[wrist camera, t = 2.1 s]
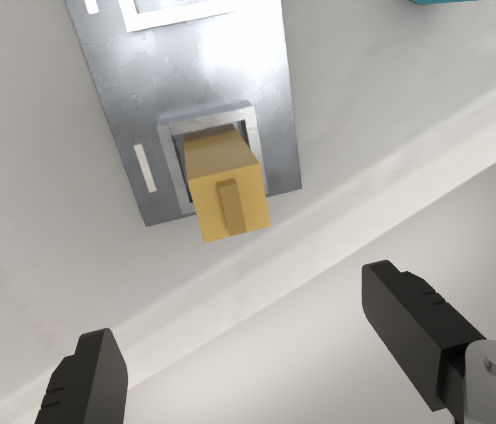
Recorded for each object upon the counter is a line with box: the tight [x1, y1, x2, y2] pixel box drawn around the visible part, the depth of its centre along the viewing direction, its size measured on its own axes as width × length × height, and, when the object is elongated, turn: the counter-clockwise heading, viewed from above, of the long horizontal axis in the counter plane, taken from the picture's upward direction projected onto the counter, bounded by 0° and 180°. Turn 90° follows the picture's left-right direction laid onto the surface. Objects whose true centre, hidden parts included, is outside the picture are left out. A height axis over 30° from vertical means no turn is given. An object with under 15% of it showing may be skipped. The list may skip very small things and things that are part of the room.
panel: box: [65, 0, 302, 227], centre depth 25 cm, size 14×24×4 cm, turn 10°
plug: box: [183, 124, 270, 243], centre depth 24 cm, size 4×4×11 cm
